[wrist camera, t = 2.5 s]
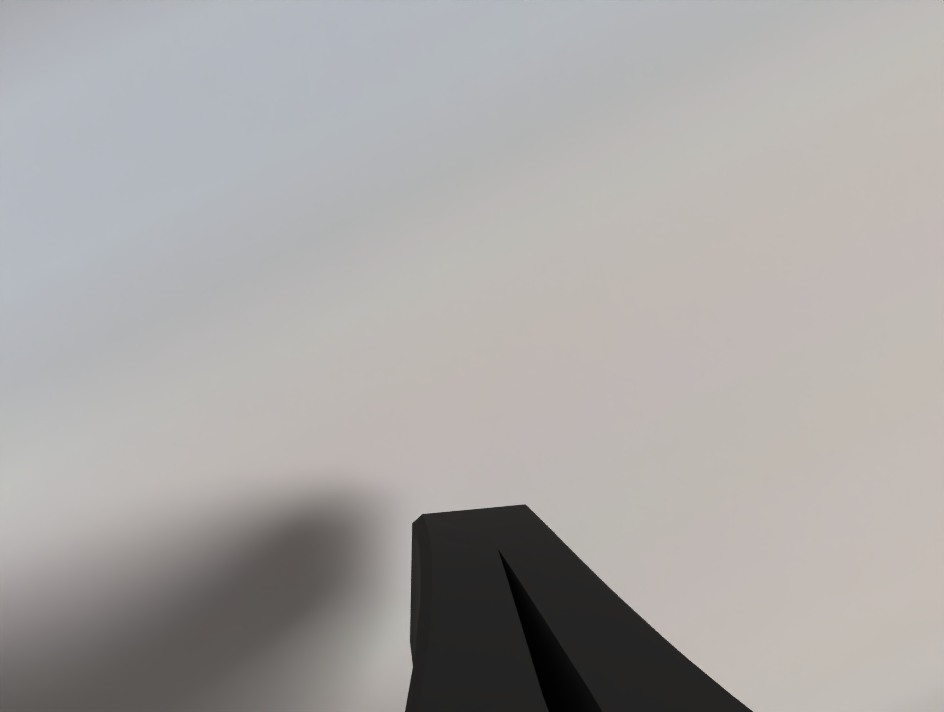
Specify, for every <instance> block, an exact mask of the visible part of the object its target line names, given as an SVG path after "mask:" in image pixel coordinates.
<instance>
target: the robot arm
mask: <svg viewBox="0 0 944 712" xmlns="http://www.w3.org/2000/svg"><path fill="white" fill-rule="evenodd" d="M410 645H411V653H412V662H413V670H412V676H411V682H410V687H409V693H408V698H407V704H406V710H405V712H753V711H752V710H750V709H749V708H748V707H746V706H745V705H744V704H742V703H741V702H740V701H739V700H737V699H736V698H735V697H733V696H732V695H731V694H730V693H729V692H727V691H726V690H725V689H724V688H722V687H721V686H720V685H719V684H718V683H716V682H715V681H714V680H713V679H712V678H710V677H709V676H708V675H707V674H705V673H704V672H703V671H702V670H701V669H699V668H698V667H697V666H696V665H695V664H693V663H692V662H691V661H690V660H689V659H687V658H686V657H685V656H684V655H683V654H682V653H681V652H679V651H678V650H677V649H676V648H675V647H674V646H672V645H671V644H670V643H669V642H668V641H667V640H666V639H664V638H663V637H662V636H661V635H660V634H659V633H658V632H657V631H656V630H655V629H654V628H652V627H651V626H650V625H649V624H648V623H647V622H646V621H645V620H644V619H643V618H642V617H640V616H639V615H638V614H637V613H636V612H635V611H634V610H633V609H632V608H631V607H630V606H629V605H627V604H626V603H625V602H624V601H623V600H622V599H621V598H620V597H619V596H618V595H617V594H616V593H615V592H614V591H613V590H611V589H610V588H609V587H608V586H607V585H606V584H605V583H604V582H603V581H602V580H601V579H600V578H599V577H598V576H597V575H596V574H595V573H594V572H593V571H592V570H591V569H590V568H589V567H588V566H587V565H586V564H585V563H584V562H583V561H582V560H581V559H580V558H579V557H578V556H577V555H576V554H575V553H574V552H573V551H572V550H571V549H570V548H569V547H568V546H567V545H566V544H565V543H564V542H563V541H562V540H561V539H560V538H559V537H558V536H557V535H556V534H555V533H554V532H553V531H552V530H551V529H550V528H549V527H548V526H547V525H546V524H545V523H544V522H543V521H542V520H541V519H540V518H539V517H538V516H537V515H536V514H535V513H534V512H533V511H532V510H531V509H530V508H529V507H528V506H526V505H515V506H504V507H494V508H483V509H472V510H462V511H451V512H441V513H430V514H422V515H421V516H420V517H419V518H418V519H417V520H416V521H414V522H413V523H412V567H411V620H410Z"/></svg>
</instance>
